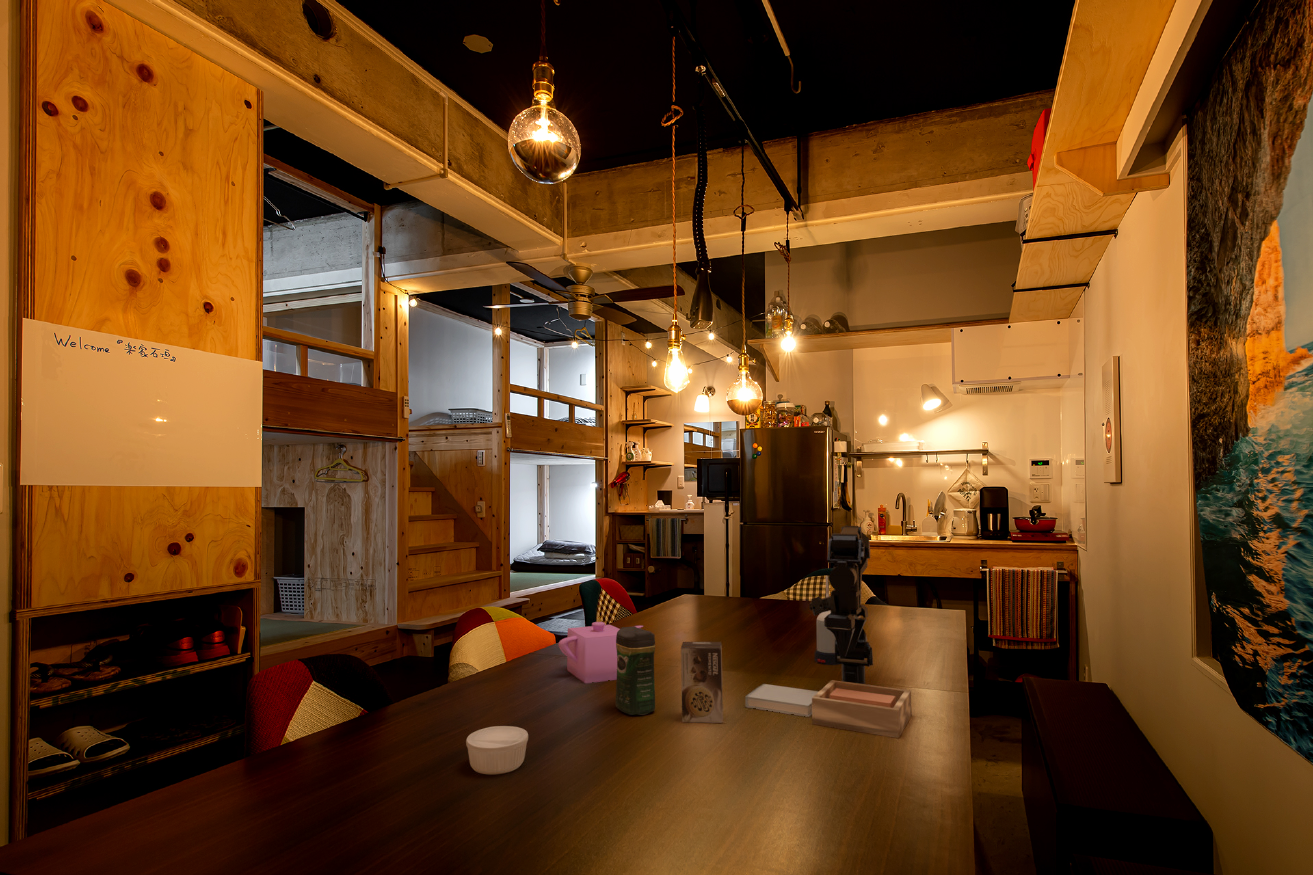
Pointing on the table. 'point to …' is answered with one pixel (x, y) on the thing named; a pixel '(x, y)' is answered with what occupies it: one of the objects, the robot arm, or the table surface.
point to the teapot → (592, 652)
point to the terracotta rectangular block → (863, 697)
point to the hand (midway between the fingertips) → (847, 652)
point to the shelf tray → (862, 710)
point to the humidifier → (825, 639)
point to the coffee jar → (635, 671)
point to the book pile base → (781, 700)
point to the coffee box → (701, 682)
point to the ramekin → (497, 749)
